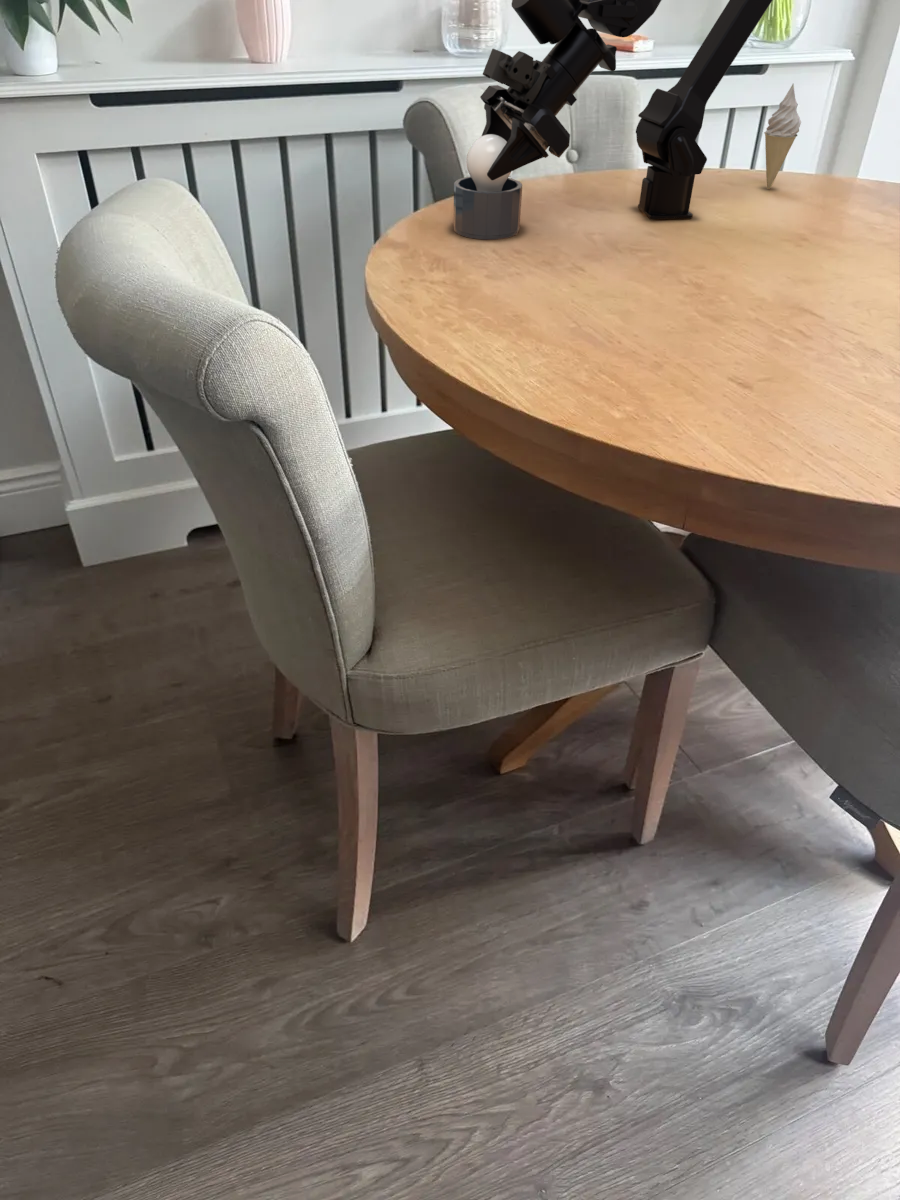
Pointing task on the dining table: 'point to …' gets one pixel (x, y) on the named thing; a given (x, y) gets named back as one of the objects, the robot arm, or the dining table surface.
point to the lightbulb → (485, 162)
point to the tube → (487, 210)
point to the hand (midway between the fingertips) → (480, 171)
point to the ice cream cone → (781, 135)
